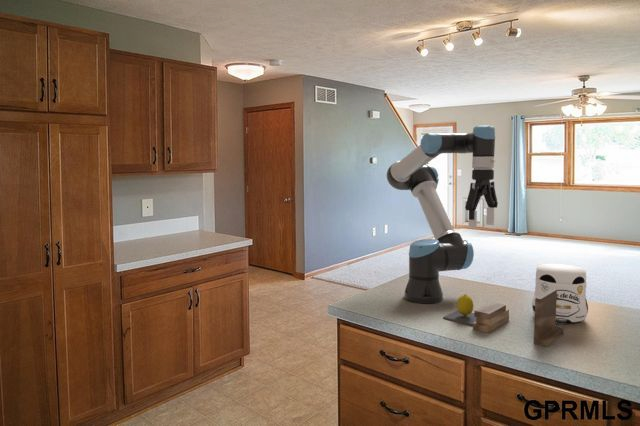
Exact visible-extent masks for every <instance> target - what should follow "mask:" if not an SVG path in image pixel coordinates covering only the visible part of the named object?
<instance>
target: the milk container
mask: <svg viewBox="0 0 640 426" xmlns="http://www.w3.org/2000/svg"><path fill="white" fill-rule="evenodd" d="M551 289H556V290H557V301H556V323H555V324H563V325H570V324H571V325H574V324H580V323H582V322H584V321H585V320H586V319H587V317H588V313H589V305H588V301H587V293H586V291H587V271H586V269H584V268H583V267H580V266H576V265H571V264H563V263H542V264H538V265H537V266H536V270H535V290H534V294H533V296H532V299H531V308H532V313H533V314H534V315H535V298H537V297H538V296H540V295H542V294H544V293H546V292H547V291H549V290H551Z"/></svg>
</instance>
